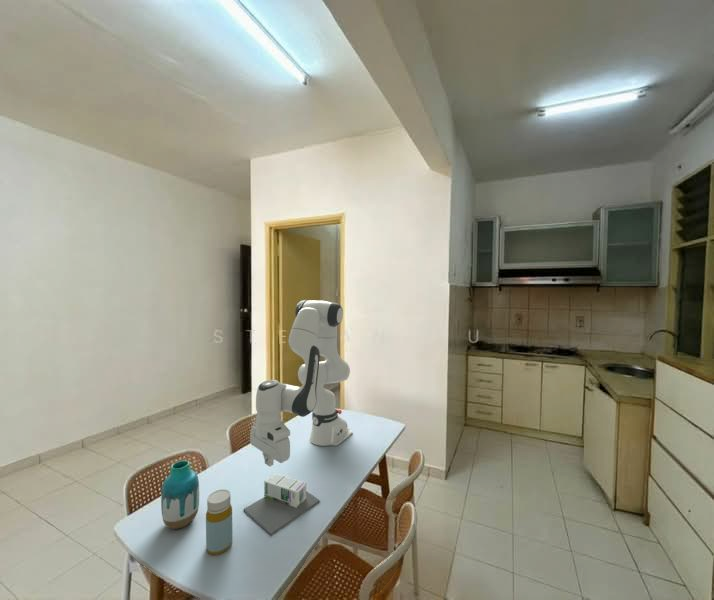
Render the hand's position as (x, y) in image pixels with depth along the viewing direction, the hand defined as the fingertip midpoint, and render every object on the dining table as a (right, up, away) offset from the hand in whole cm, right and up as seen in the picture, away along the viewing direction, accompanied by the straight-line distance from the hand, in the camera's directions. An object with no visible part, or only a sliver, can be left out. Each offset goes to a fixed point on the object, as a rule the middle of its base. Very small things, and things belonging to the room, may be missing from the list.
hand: (269, 464), depth 112 cm
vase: (-25, -12, -13) cm, 30 cm away
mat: (+6, -12, -5) cm, 14 cm away
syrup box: (-1, -8, +2) cm, 8 cm away
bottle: (-8, -13, -21) cm, 26 cm away
